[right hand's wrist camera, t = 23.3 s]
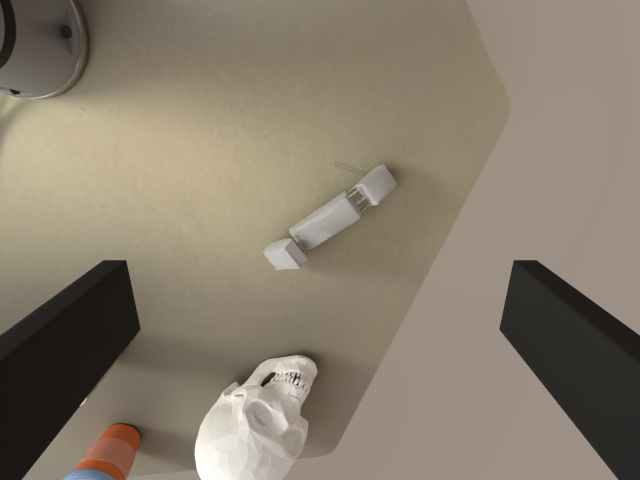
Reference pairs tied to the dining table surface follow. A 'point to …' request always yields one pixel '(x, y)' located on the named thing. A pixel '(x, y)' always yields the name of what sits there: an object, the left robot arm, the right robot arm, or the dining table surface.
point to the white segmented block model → (329, 220)
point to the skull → (257, 424)
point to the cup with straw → (109, 455)
